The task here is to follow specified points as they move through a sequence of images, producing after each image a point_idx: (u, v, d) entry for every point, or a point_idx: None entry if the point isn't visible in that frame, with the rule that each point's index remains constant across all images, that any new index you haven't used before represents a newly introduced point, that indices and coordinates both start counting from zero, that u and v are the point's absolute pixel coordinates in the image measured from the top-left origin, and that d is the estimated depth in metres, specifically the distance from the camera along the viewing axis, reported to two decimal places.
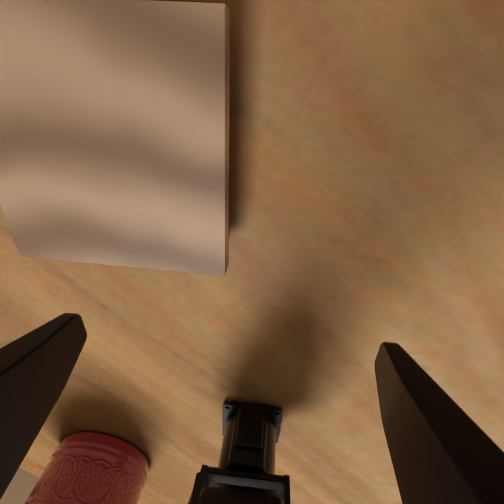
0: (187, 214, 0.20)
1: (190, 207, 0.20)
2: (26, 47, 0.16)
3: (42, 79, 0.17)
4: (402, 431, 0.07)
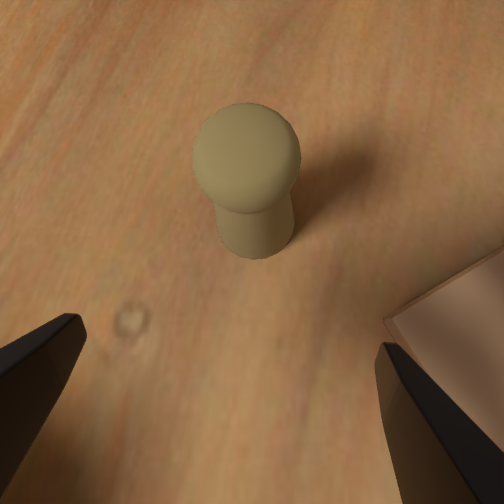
0: None
1: None
2: None
3: None
4: (402, 431, 0.07)
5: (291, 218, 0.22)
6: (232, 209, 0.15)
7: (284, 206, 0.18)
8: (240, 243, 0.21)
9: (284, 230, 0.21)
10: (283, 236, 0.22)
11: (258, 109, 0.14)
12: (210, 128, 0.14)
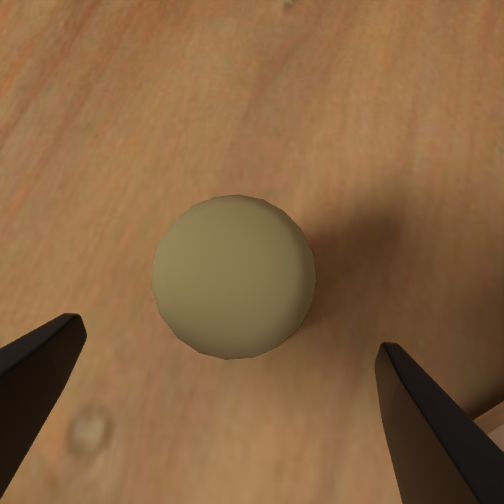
0: None
1: None
2: None
3: None
4: (402, 431, 0.07)
5: None
6: None
7: None
8: None
9: None
10: None
11: (251, 210, 0.09)
12: (177, 240, 0.09)
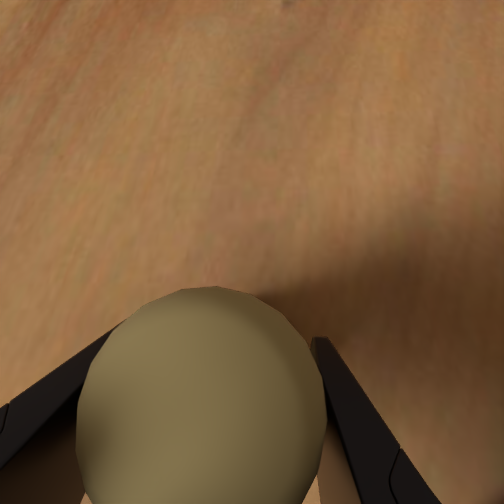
0: None
1: None
2: None
3: None
4: None
5: None
6: None
7: None
8: None
9: None
10: None
11: (227, 329, 0.06)
12: (109, 379, 0.06)
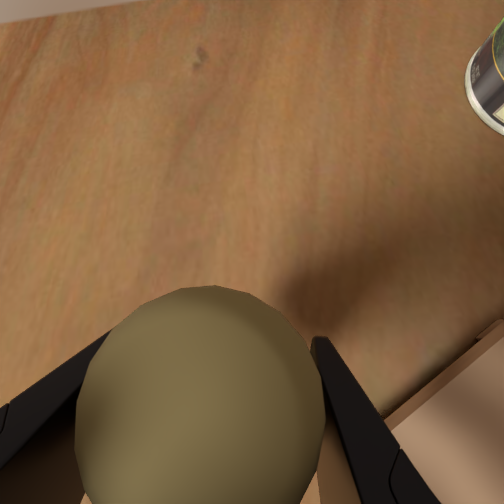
0: None
1: None
2: None
3: None
4: None
5: None
6: None
7: None
8: None
9: None
10: None
11: (226, 328, 0.06)
12: (108, 378, 0.06)
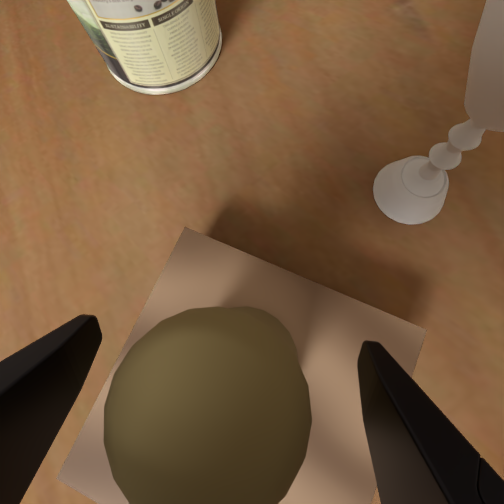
0: None
1: (322, 503, 0.16)
2: (243, 289, 0.18)
3: None
4: (380, 428, 0.07)
5: None
6: None
7: None
8: None
9: None
10: None
11: (227, 347, 0.07)
12: (131, 388, 0.07)
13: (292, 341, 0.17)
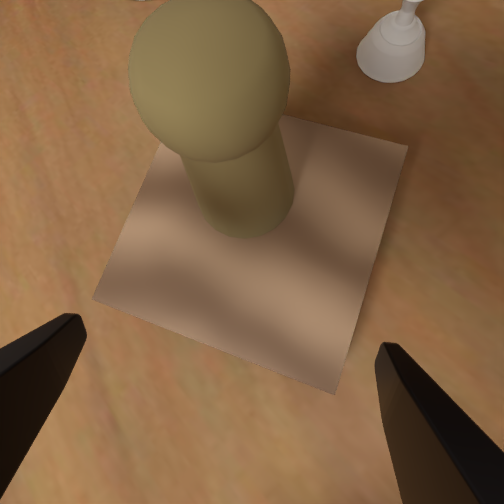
0: (317, 300, 0.18)
1: (323, 293, 0.18)
2: None
3: None
4: (402, 431, 0.07)
5: (288, 180, 0.17)
6: (193, 153, 0.10)
7: (275, 157, 0.13)
8: (224, 216, 0.16)
9: (280, 195, 0.16)
10: (279, 204, 0.17)
11: None
12: (147, 28, 0.09)
13: None
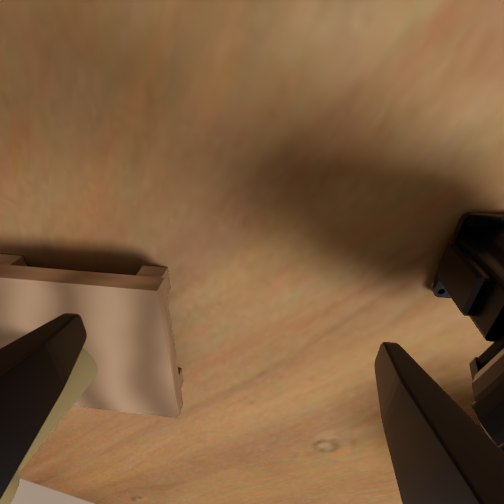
0: (101, 311, 0.23)
1: (94, 308, 0.23)
2: None
3: None
4: (402, 431, 0.07)
5: None
6: None
7: None
8: (71, 393, 0.24)
9: None
10: None
11: None
12: None
13: None
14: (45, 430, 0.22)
